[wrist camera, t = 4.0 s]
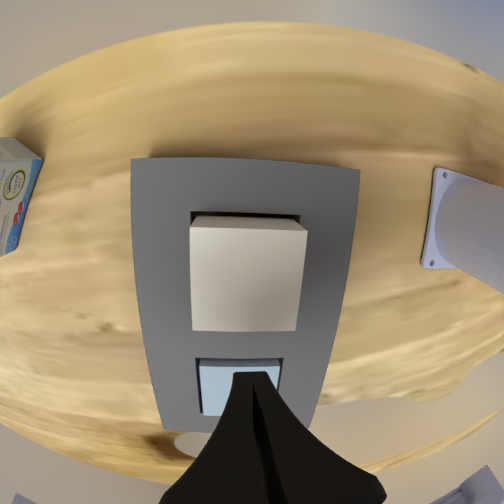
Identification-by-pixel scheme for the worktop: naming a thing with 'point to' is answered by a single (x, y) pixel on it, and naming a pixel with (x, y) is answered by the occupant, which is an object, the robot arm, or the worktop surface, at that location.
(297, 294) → the cream key
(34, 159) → the medicine box
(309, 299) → the grey flat rectangular block
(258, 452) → the robot arm
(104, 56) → the worktop surface
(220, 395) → the blue key
